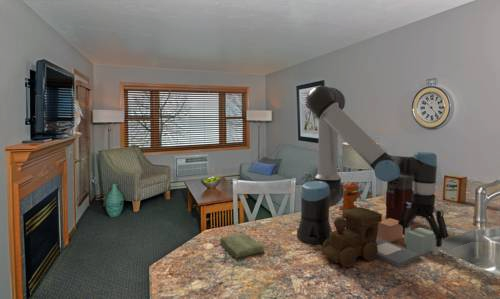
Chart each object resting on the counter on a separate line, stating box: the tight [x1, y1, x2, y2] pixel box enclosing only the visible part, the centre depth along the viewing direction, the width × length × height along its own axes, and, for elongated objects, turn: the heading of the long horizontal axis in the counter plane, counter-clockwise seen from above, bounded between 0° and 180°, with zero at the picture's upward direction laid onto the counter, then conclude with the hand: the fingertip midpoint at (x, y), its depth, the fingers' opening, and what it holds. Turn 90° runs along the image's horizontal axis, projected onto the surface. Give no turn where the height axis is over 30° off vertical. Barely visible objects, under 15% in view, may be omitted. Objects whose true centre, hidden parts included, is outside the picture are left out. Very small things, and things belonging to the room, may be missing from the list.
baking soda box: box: [442, 174, 468, 205], centre depth 176 cm, size 10×6×16 cm
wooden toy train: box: [321, 207, 383, 268], centre depth 104 cm, size 20×11×17 cm, turn 116°
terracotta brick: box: [377, 218, 404, 243], centre depth 122 cm, size 9×6×7 cm, turn 120°
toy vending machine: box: [385, 175, 414, 221], centre depth 142 cm, size 9×11×28 cm
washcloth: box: [219, 233, 265, 259], centre depth 114 cm, size 13×18×3 cm
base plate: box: [375, 237, 421, 268], centre depth 108 cm, size 13×18×2 cm
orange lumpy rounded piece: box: [338, 181, 361, 212], centre depth 152 cm, size 11×11×18 cm
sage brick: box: [405, 227, 436, 256], centre depth 111 cm, size 9×6×7 cm, turn 120°
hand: (420, 248), depth 111 cm, fingers open, 10 cm apart
